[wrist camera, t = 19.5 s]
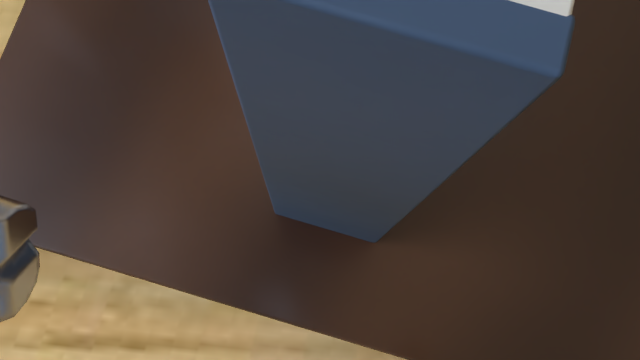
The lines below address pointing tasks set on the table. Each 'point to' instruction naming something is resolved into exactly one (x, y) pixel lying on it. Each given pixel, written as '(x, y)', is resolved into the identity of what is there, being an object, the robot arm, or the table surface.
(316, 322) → the dark brown board
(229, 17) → the book
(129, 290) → the table surface
